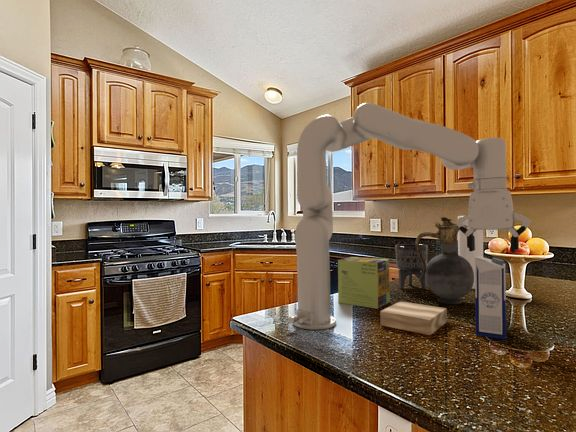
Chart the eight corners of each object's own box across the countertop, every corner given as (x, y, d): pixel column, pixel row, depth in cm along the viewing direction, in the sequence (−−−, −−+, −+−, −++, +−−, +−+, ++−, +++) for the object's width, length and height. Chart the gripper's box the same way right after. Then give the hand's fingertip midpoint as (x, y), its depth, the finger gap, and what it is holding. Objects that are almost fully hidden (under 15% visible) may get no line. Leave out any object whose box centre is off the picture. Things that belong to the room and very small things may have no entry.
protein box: (378, 309, 121) (377, 262, 121) (337, 302, 130) (337, 259, 130) (390, 302, 129) (389, 259, 129) (351, 297, 139) (350, 256, 138)
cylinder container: (453, 285, 156) (452, 215, 156) (471, 283, 159) (470, 214, 159) (470, 289, 147) (469, 215, 147) (488, 287, 150) (488, 214, 150)
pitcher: (473, 308, 120) (472, 217, 119) (413, 302, 129) (412, 217, 129) (475, 300, 129) (474, 216, 129) (419, 295, 139) (417, 216, 138)
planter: (433, 286, 154) (432, 244, 153) (420, 292, 144) (420, 247, 144) (403, 283, 162) (403, 243, 162) (390, 288, 153) (389, 245, 152)
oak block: (430, 335, 95) (430, 319, 95) (380, 325, 104) (380, 311, 104) (446, 322, 106) (446, 308, 106) (400, 313, 115) (400, 301, 115)
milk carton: (477, 327, 100) (476, 255, 100) (506, 331, 97) (505, 256, 97) (475, 335, 94) (474, 258, 94) (506, 339, 91) (505, 259, 91)
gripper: (450, 188, 98) (453, 251, 98) (527, 183, 87) (529, 254, 87) (458, 188, 104) (460, 249, 104) (531, 184, 92) (533, 251, 93)
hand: (492, 251), depth 95 cm, fingers open, 9 cm apart
